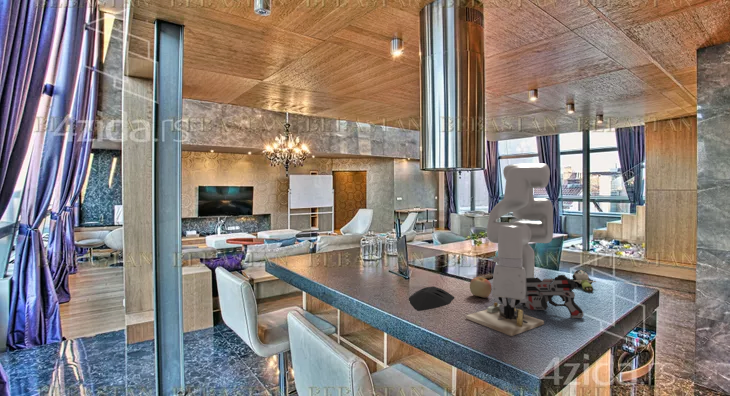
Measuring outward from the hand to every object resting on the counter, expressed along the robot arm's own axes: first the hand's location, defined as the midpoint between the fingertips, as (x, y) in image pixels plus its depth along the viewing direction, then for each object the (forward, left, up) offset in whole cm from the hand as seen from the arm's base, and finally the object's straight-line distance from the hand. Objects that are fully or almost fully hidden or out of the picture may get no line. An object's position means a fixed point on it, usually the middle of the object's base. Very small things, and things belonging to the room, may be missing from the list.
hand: (509, 317), depth 117 cm
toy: (-71, -10, -4) cm, 72 cm away
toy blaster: (-26, -2, -4) cm, 26 cm away
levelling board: (-4, -5, -4) cm, 7 cm away
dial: (-6, -2, -2) cm, 7 cm away
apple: (-20, -28, -4) cm, 34 cm away
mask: (+1, -36, -4) cm, 37 cm away
